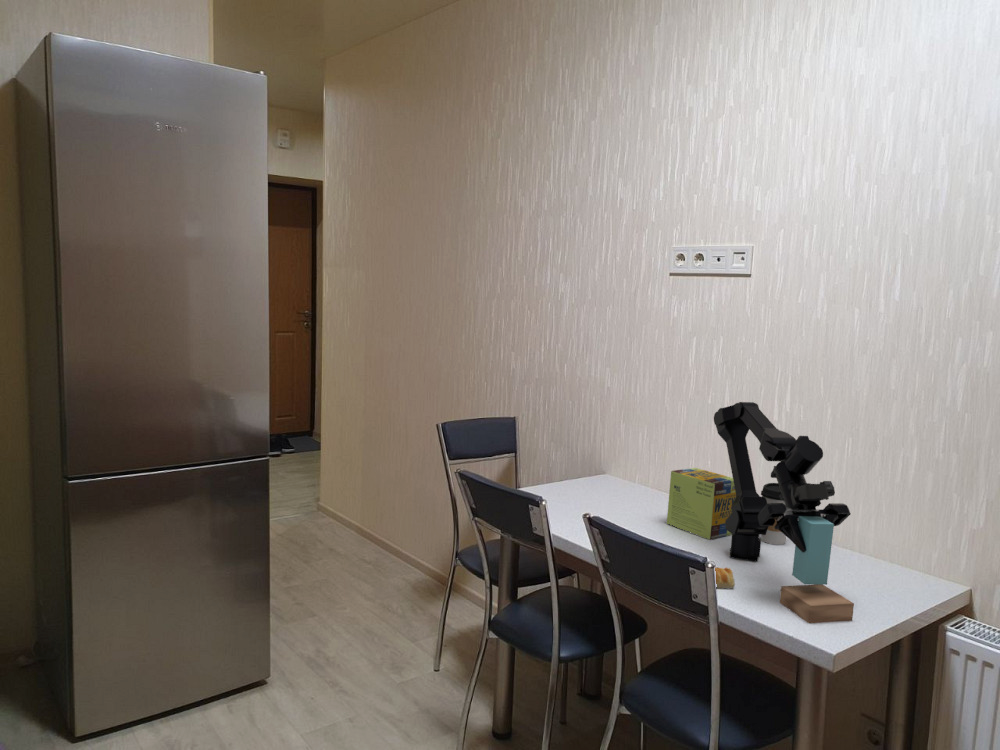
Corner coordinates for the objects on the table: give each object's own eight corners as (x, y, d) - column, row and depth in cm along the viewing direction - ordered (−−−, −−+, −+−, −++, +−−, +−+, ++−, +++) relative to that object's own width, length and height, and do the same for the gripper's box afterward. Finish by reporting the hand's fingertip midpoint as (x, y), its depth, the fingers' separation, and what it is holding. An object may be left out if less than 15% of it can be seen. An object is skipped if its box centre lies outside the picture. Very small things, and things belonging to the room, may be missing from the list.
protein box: (710, 540, 199) (715, 483, 198) (665, 524, 212) (670, 470, 210) (735, 534, 206) (739, 479, 204) (690, 519, 218) (694, 466, 216)
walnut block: (779, 604, 161) (781, 586, 160) (820, 601, 163) (822, 584, 163) (809, 625, 151) (810, 605, 151) (852, 622, 153) (854, 603, 153)
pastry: (694, 589, 166) (696, 572, 166) (686, 577, 173) (687, 561, 172) (736, 590, 167) (738, 574, 166) (726, 579, 173) (727, 563, 173)
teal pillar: (792, 575, 162) (798, 516, 160) (813, 575, 162) (820, 516, 161) (804, 584, 157) (811, 523, 155) (826, 584, 157) (834, 524, 156)
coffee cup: (793, 540, 203) (798, 486, 201) (785, 548, 196) (790, 492, 194) (761, 533, 207) (766, 480, 206) (752, 541, 200) (757, 486, 199)
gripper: (769, 466, 159) (792, 533, 150) (850, 467, 162) (877, 533, 152) (748, 492, 168) (768, 558, 158) (825, 493, 171) (850, 557, 161)
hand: (816, 551), depth 157 cm, fingers closed on teal pillar, 5 cm apart
